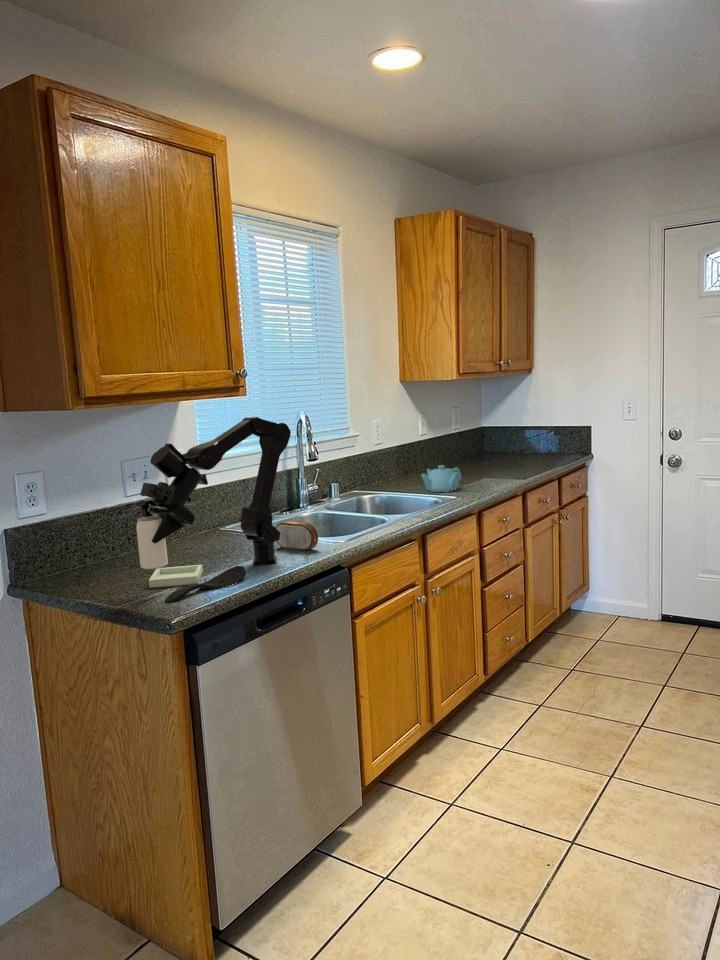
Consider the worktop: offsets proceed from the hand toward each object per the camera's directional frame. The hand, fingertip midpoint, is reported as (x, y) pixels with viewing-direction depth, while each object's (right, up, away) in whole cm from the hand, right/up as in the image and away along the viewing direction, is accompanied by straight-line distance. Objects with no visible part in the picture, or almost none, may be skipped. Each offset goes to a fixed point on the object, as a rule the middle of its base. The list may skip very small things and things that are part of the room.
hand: (146, 541), depth 180 cm
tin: (+33, -6, +41) cm, 53 cm away
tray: (+4, -11, +13) cm, 18 cm away
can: (+1, -6, +2) cm, 7 cm away
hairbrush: (+14, -13, +3) cm, 19 cm away
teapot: (+86, +10, +133) cm, 159 cm away
